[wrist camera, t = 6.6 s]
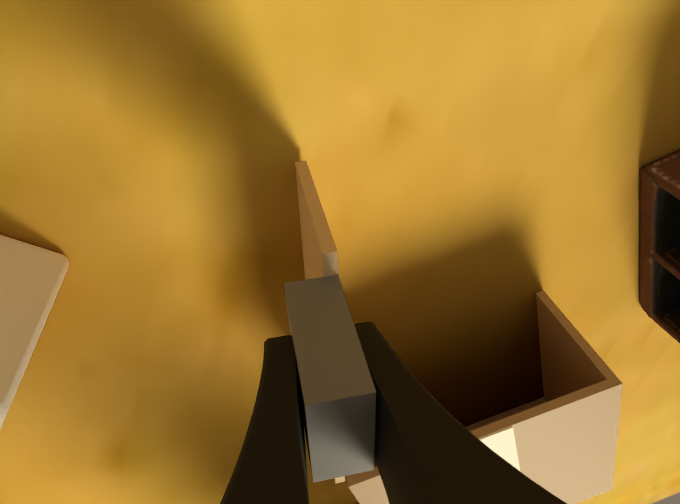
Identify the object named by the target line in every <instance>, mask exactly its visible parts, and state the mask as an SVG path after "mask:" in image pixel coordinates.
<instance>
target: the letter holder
mask: <svg viewBox="0 0 680 504" xmlns="http://www.w3.org/2000/svg"><path fill="white" fill-rule="evenodd" d="M640 177H641V192H640V303H641V307H642V308H643V310H644V311H645V312H646V313H647V315H648V316H649V317H650V318H652V319H653V320H654V321H655V322H656V323H657V324H658V325H659V326H660V327H662V328H663V329H664V330H665V331H666V332H667V333H669V334H670V335H671V336H672V337H673V338H674V339H676V340H677V341H678V342H679V343H680V150H679V151H677V152H675V153H672V154H670V155H668V156H666V157H664V158H662V159H660V160H658V161H656V162H654V163H652V164H649V165H647V166H645V167H643V168H641V169H640Z"/></svg>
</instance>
